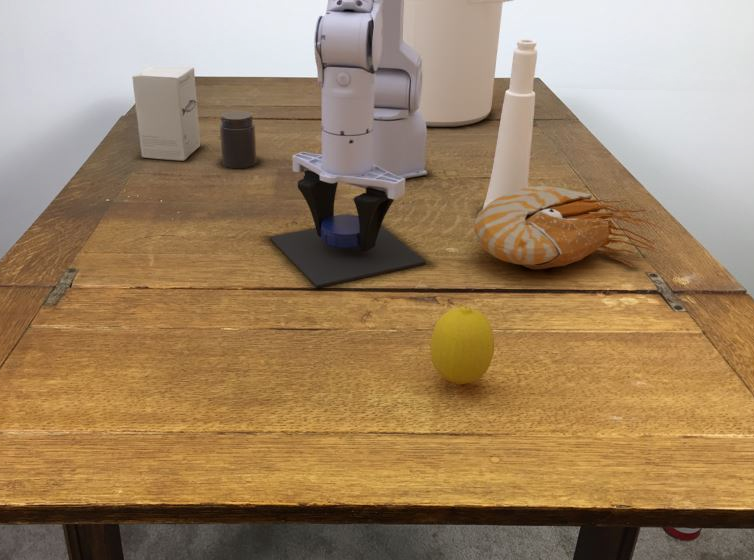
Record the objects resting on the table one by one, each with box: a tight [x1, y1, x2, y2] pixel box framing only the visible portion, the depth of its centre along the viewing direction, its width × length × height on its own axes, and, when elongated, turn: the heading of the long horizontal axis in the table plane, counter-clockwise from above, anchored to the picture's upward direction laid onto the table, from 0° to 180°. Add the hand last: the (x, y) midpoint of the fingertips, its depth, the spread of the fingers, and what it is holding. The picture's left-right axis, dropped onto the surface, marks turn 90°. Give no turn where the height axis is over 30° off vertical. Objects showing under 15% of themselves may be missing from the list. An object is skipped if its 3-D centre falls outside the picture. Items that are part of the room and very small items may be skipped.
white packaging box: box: [131, 64, 201, 162], centre depth 121 cm, size 7×7×13 cm
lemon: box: [429, 305, 495, 386], centre depth 69 cm, size 6×6×8 cm
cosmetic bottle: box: [482, 39, 538, 210], centre depth 98 cm, size 6×6×22 cm
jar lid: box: [321, 213, 360, 248], centre depth 93 cm, size 6×6×2 cm
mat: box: [269, 226, 427, 289], centre depth 94 cm, size 14×14×1 cm
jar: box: [219, 110, 257, 170], centre depth 119 cm, size 5×5×7 cm
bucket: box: [403, 0, 514, 128], centre depth 138 cm, size 26×22×25 cm
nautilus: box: [473, 185, 661, 270], centre depth 91 cm, size 8×22×15 cm
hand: (345, 241), depth 93 cm, fingers closed on jar lid, 6 cm apart
